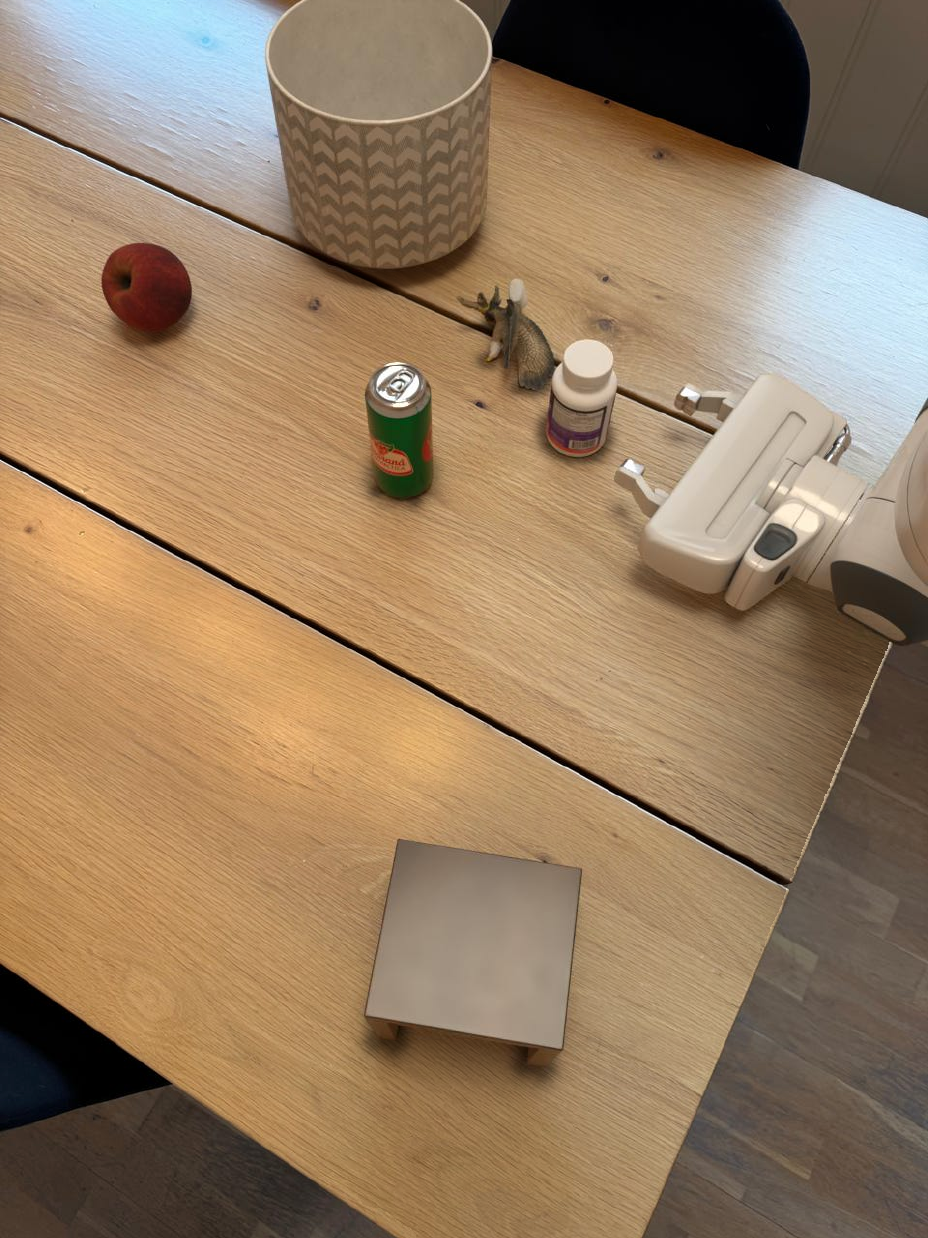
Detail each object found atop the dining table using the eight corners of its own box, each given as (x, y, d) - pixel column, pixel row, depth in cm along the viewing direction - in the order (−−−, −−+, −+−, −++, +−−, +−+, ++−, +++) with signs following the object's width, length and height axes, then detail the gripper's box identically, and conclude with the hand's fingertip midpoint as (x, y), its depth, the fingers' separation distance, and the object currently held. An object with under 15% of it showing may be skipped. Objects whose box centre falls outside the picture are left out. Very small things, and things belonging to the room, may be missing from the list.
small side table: (562, 910, 70) (582, 868, 59) (544, 1066, 66) (563, 1051, 55) (406, 885, 71) (397, 838, 60) (377, 1037, 66) (363, 1016, 56)
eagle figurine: (438, 337, 93) (492, 389, 88) (469, 263, 89) (526, 314, 84) (500, 346, 98) (553, 396, 93) (531, 276, 94) (589, 325, 89)
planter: (342, 138, 107) (323, -41, 90) (513, 185, 104) (524, 8, 87) (261, 260, 98) (224, 87, 82) (443, 315, 95) (441, 146, 79)
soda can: (362, 481, 87) (349, 388, 76) (399, 443, 88) (392, 347, 78) (408, 511, 85) (402, 421, 75) (445, 472, 87) (444, 379, 76)
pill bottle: (566, 399, 91) (578, 321, 82) (617, 428, 90) (635, 351, 81) (533, 439, 89) (541, 363, 80) (585, 469, 87) (599, 395, 79)
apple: (100, 314, 95) (72, 247, 88) (171, 275, 97) (149, 207, 90) (144, 361, 92) (118, 296, 85) (215, 319, 95) (196, 253, 88)
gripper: (875, 403, 80) (721, 325, 84) (752, 586, 72) (588, 491, 76) (847, 452, 86) (704, 376, 89) (730, 627, 78) (578, 536, 81)
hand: (649, 430), depth 82 cm, fingers open, 8 cm apart
